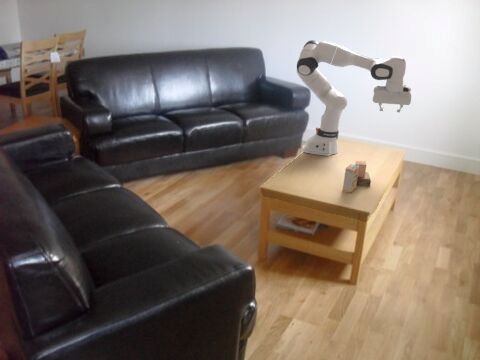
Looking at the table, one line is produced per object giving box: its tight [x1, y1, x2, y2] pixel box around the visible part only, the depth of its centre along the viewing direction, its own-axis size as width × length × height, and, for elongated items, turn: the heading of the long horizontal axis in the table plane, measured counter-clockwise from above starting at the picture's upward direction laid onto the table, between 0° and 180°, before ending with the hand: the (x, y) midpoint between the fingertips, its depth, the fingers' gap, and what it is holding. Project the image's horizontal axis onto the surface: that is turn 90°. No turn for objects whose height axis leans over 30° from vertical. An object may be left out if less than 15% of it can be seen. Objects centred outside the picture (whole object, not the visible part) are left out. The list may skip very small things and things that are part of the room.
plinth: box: [356, 171, 372, 187], centre depth 265 cm, size 11×11×4 cm
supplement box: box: [342, 163, 359, 194], centre depth 253 cm, size 8×5×13 cm, turn 148°
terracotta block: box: [354, 160, 367, 177], centre depth 263 cm, size 5×5×7 cm
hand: (389, 111), depth 272 cm, fingers open, 8 cm apart
